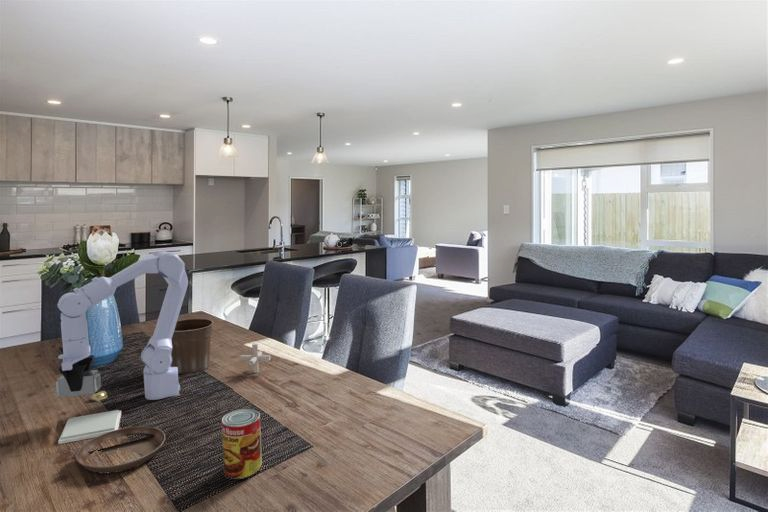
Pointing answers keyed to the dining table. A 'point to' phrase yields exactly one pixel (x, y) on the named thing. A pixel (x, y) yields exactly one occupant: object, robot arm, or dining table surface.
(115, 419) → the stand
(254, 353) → the pipe connector
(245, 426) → the canned food
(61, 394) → the block
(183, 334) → the plant pot
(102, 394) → the yellow rounded lump
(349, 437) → the dining table surface
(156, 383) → the robot arm
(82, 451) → the plant saucer
